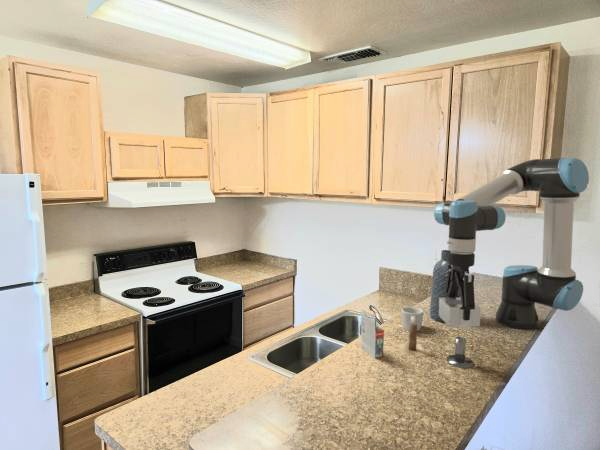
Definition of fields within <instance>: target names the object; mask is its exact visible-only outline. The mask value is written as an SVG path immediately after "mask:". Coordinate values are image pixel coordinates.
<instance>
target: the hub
mask: <svg viewBox="0 0 600 450" xmlns="http://www.w3.org/2000/svg"><path fill="white" fill-rule="evenodd" d="M454 344H455V345H454V354H449V355H447V357H446V362H447V363H448V364H449V366H452V367H455V368H458V369H459V368H460V369H469V368H472V367H473V366H474V361H473V360H472V359H471V358H469V357H467V356H466V351H467V350H466V349H467V339H466V338H465V337H462V336H456V337H455V342H454Z"/></svg>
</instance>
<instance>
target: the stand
mask: <svg viewBox="0 0 600 450" xmlns="http://www.w3.org/2000/svg"><path fill="white" fill-rule="evenodd" d="M408 332H409V333H408V343H397V346H398V347H399V349H400V352H401V353H402V354H403V356H429V354H428V352H427V351H426V349H425V348H424V346H422V344H421V343H417V339H418V337H417V336H418V331H417V324H413V323H412V324H410V327H409V330H408Z"/></svg>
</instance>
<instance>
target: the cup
mask: <svg viewBox="0 0 600 450" xmlns="http://www.w3.org/2000/svg"><path fill="white" fill-rule="evenodd" d="M423 316H424V310H423V309H421V308H419V307H416V306H403V307H402V308H401V319H402V320H401V322H402V328H403V330H406V331H409V327H410V324H412V323H413V324H417V332H418V331H420V330H421V329H422V324H423Z"/></svg>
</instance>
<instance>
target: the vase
mask: <svg viewBox="0 0 600 450" xmlns="http://www.w3.org/2000/svg"><path fill="white" fill-rule="evenodd" d="M449 251H450V250H449V249H448V250H447V249H445V250H444V249H443V250H441V254H440V255H441V257H440V259H439V260H438V261H437V262H436V263H435V264H434V267H433V271H432V280H431V281H432V282H431V291H430V293H431V294H430V302H429V303H430V304H429V306H430V307H429V317H430V318H431V319H433V320H435V321H437V322H440V323H445V322H444V321H443V320H442V319H441V318H440V317H439V298H449V297H448V296H447V293H445V289H446V282H447V275H448V265H450V264H448V252H449ZM448 290H449V289H448ZM457 295H458V297H460V290H459V288H458V291H457ZM454 298H455V297H454Z"/></svg>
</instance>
